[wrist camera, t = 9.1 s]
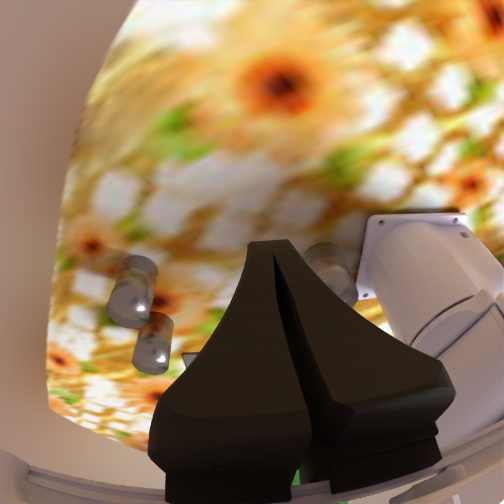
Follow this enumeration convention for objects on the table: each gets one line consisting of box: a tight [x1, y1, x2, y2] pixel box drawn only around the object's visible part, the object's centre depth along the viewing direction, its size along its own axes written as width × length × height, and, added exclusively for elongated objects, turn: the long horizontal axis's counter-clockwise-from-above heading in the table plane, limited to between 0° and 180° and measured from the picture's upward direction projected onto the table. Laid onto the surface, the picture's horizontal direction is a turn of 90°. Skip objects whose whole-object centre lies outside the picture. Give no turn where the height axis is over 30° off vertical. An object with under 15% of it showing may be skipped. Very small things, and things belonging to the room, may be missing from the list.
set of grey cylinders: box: [106, 243, 359, 375], centre depth 24 cm, size 17×9×4 cm, turn 92°
